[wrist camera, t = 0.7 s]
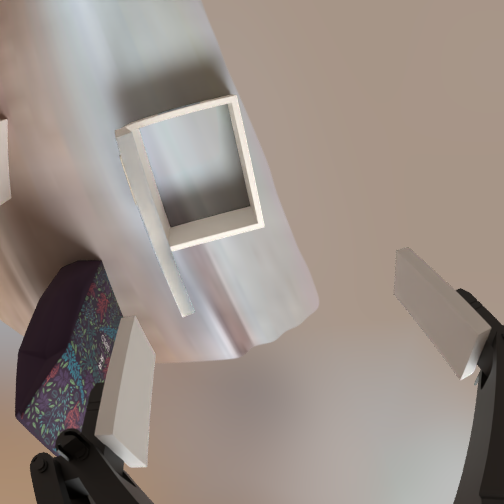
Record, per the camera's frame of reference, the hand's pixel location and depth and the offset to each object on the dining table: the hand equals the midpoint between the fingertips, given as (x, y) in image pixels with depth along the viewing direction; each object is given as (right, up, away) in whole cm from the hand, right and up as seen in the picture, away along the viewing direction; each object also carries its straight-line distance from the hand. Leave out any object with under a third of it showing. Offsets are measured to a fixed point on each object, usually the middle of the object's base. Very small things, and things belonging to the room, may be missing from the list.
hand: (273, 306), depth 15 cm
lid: (-10, +7, +14) cm, 19 cm away
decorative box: (-27, -6, +33) cm, 43 cm away
